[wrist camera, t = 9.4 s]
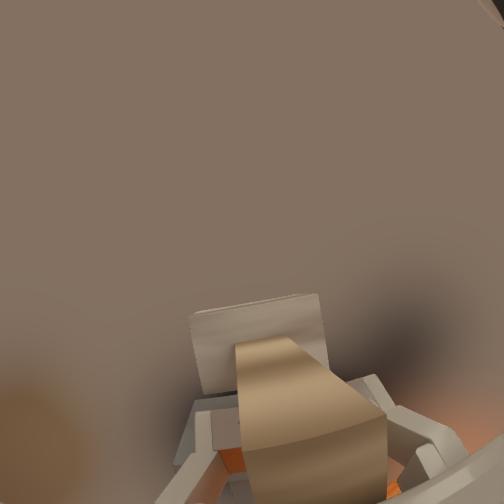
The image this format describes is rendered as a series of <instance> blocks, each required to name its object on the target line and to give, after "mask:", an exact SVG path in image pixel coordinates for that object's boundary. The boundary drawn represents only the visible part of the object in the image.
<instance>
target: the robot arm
mask: <svg viewBox="0 0 504 504" xmlns="http://www.w3.org/2000/svg"><path fill="white" fill-rule="evenodd" d="M477 2H478V3H479V4H480V5H481V7H482V8H483V9H484V10H485V11H486V12H487V13H488V14H489V15H490V16H491V17H492V18H493V19H494V20H495V21H496V22H497V23H499V24H500V25H501V27H502V28H503V29H504V0H477ZM345 383H346V384H348V385H349V386H350V387H352V388H353V389H354V390H355V391H357V392H358V393H359V394H361V395H362V396H363V397H365V398H366V399H367V400H369V401H370V402H371V403H373V404H374V405H375V406H377V407H378V408H379V409H381V410H382V411H383V412H385V413H386V414H387V456H389V457H390V458H392V459H393V460H395V461H397V462H398V463H400V464H401V465H403V466H405V469H404V470H403V471H402V473H401V474H400V476H399V477H398V479H397V483H398V485H399V487H400V490H401V492H402V493H401V494H398V495H396V496H394V497H391V498H389V499H387V500H384V501H382V502H379V503H377V504H504V432H502V433H501V434H500V435H498V436H497V437H496V438H494V439H493V440H492V441H490V442H489V443H488V444H486V445H485V446H483V447H482V448H480V449H479V450H478V451H476V452H475V453H473V454H472V455H470V454H469V452H468V451H467V450H466V448H465V446H464V445H463V443H462V442H461V440H460V439H459V437H458V436H457V434H456V433H455V432H454V430H453V429H452V428H449V427H447V426H445V425H442V424H440V423H438V422H435V421H433V420H431V419H429V418H427V417H424V416H422V415H420V414H418V413H416V412H413V411H411V410H409V409H407V408H405V407H403V406H401V405H398V406H395V404H394V403H393V401H392V399H391V398H390V396H389V394H388V393H387V391H386V390H385V388H384V387H383V385H382V383H381V382H380V380H379V379H378V377H377V376H376V375H375V374H372V375H369V376H366V377H362V378H358V379H355V380H352V381H349V382H345ZM241 472H247V470H246V466H245V462H244V458H243V454H242V445H241V431H240V417H239V407H234V408H226V409H218V410H208V411H199V412H196V413H195V453H191V454H190V456H189V457H188V458H187V460H186V461H185V463H184V464H183V465H182V467H181V468H180V469H179V471H178V472H177V474H176V475H175V476H174V478H173V479H172V480H171V482H170V483H169V484H168V486H167V487H166V488H165V490H164V491H163V492H162V494H161V495H160V496H159V497H158V499H157V500H156V501H155V503H154V504H215V502H216V500H217V498H218V497H219V495H220V493H221V491H222V489H223V488H224V486H225V484H226V482H227V480H228V478H229V476H230V475H229V474H235V473H241ZM0 504H3V503H1V502H0Z"/></svg>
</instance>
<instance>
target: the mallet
mask: <svg viewBox="0 0 504 504" xmlns="http://www.w3.org/2000/svg"><path fill="white" fill-rule="evenodd" d="M188 320H189V326H190V330H191V336H192V341H193V346H194V351H195V356H196V361H197V366H198V370H199V375H200V380H201V384H202V389H203V393H204V395H205V394H212V393H220V392H227V391H233V390H238V402H239V417H240V431H241V445H242V454H243V458H244V462H245V466H246V470H247V474H248V478H249V481H250V485H251V489H252V493H253V497H254V500H255V504H377V503H379V502H382V501H384V500H386V493H387V414H386V413H385V412H383V411H382V410H381V409H379V408H378V407H377V406H375V405H374V404H373V403H371V402H370V401H369V400H367V399H366V398H365V397H363V396H362V395H361V394H359V393H358V392H357V391H355V390H354V389H353V388H352V387H350V386H349V385H348V384H346V383H345V382H344V381H342V380H341V379H340V378H339V377H337V376H336V375H335V374H333V373H332V372H331V371H330V370H329V363H328V357H327V349H326V343H325V336H324V329H323V323H322V317H321V311H320V305H319V299H318V294H296V295H290V296H285V297H280V298H274V299H269V300H264V301H258V302H252V303H247V304H241V305H235V306H229V307H223V308H217V309H212V310H205V311H198V312H196V313H194V314H192V315H191V316H189V317H188Z"/></svg>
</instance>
